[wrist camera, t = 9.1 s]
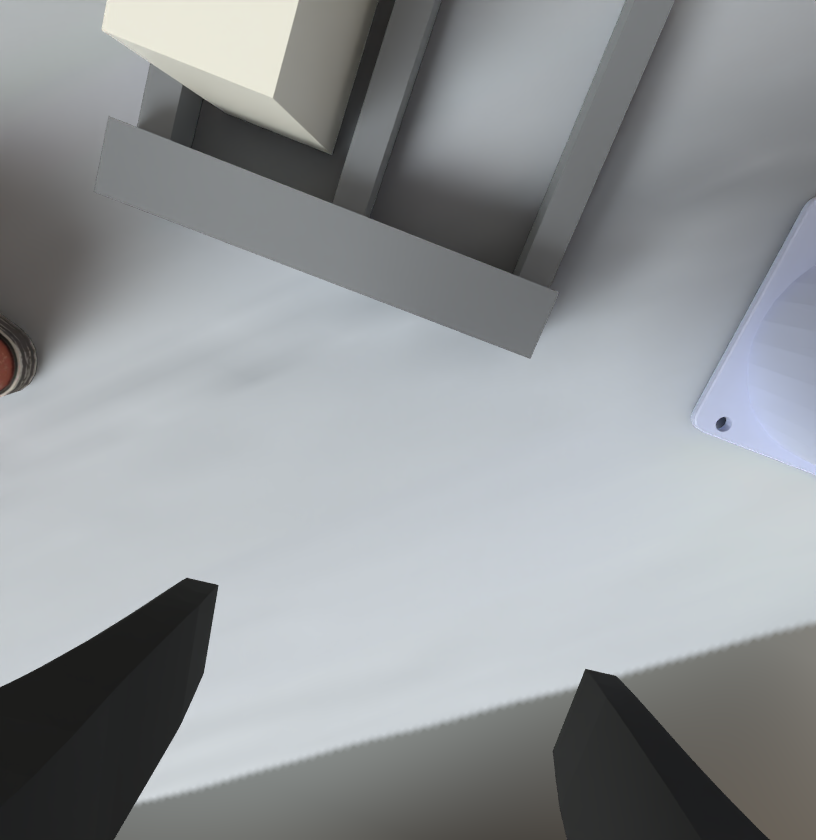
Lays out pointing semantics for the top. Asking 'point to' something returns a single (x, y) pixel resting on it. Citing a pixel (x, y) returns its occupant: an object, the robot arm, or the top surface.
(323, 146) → the cream rectangular block
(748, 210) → the top surface
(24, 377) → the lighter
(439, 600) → the top surface
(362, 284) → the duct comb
